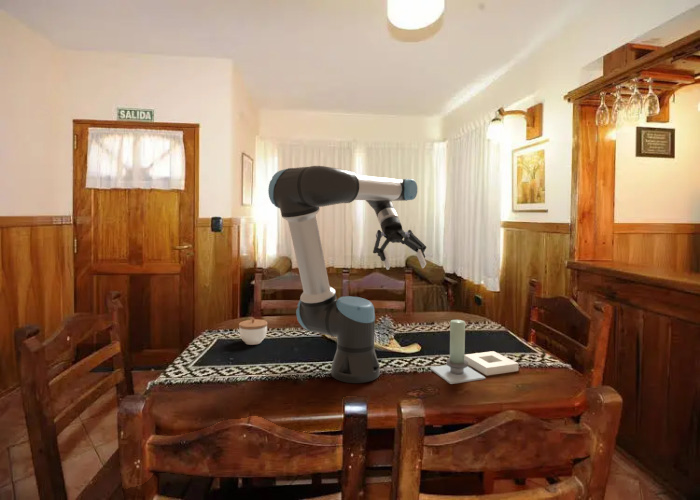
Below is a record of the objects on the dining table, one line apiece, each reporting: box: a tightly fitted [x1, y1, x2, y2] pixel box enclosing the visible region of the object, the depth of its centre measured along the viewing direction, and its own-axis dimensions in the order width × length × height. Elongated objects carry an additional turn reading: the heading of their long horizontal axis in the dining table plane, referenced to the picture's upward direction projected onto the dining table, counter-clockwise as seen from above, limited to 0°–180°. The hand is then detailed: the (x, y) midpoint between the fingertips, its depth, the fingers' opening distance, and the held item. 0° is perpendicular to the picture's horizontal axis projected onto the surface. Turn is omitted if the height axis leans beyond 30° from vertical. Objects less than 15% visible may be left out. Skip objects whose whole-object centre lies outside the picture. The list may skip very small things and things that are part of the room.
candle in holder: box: [445, 319, 469, 375], centre depth 120 cm, size 6×6×16 cm
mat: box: [429, 364, 486, 385], centre depth 121 cm, size 12×12×1 cm
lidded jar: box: [238, 318, 268, 346], centre depth 150 cm, size 11×11×9 cm
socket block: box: [464, 350, 519, 376], centre depth 127 cm, size 12×12×2 cm
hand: (406, 266), depth 134 cm, fingers open, 13 cm apart
